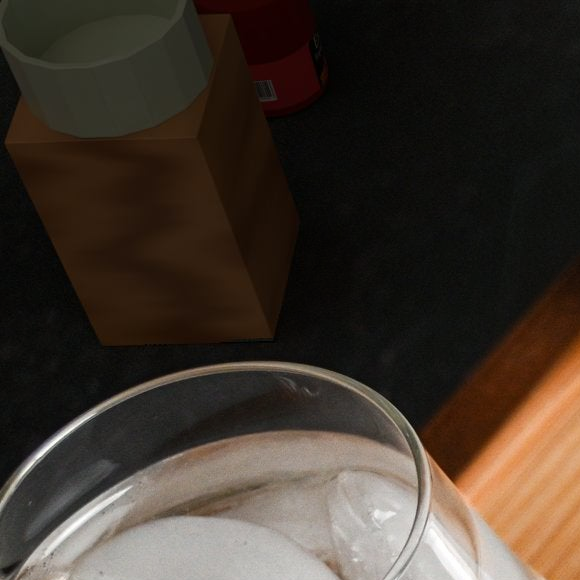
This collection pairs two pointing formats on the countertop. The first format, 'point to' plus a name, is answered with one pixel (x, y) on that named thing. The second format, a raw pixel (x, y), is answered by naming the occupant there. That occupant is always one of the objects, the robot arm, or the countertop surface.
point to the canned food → (277, 50)
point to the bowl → (105, 61)
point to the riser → (170, 213)
